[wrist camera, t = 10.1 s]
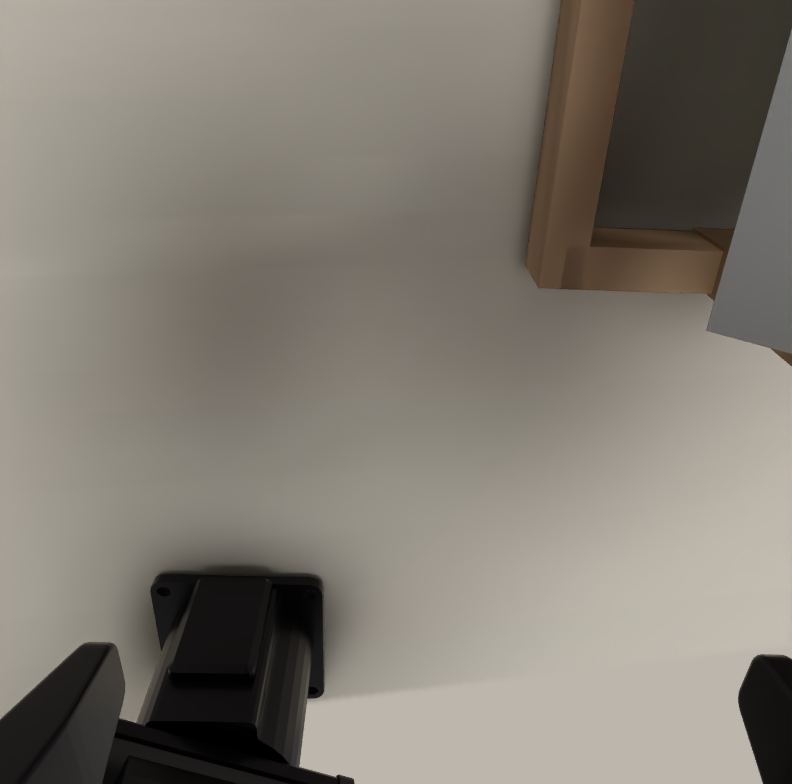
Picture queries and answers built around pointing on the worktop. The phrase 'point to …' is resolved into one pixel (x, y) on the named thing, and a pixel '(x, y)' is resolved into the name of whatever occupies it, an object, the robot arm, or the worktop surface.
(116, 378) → the worktop surface
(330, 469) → the worktop surface
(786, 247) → the trapdoor
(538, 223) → the trapdoor frame
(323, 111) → the worktop surface
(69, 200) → the worktop surface
